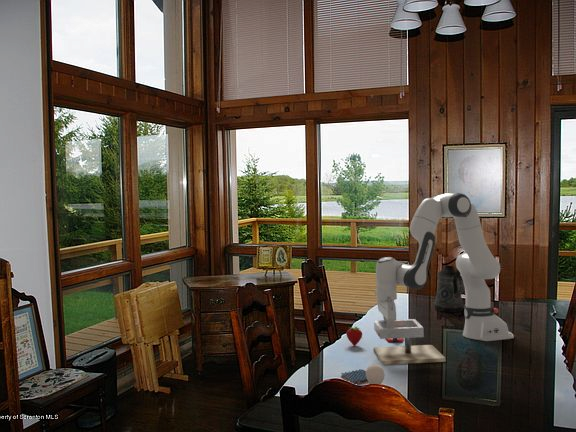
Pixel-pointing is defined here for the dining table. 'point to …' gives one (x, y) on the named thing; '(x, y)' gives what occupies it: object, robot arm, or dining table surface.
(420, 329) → the steel link
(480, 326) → the robot arm
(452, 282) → the beer stein
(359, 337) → the strawberry
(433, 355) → the board
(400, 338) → the tow hook
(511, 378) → the dining table surface
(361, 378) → the woven mat
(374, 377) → the light bulb
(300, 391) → the dining table surface
